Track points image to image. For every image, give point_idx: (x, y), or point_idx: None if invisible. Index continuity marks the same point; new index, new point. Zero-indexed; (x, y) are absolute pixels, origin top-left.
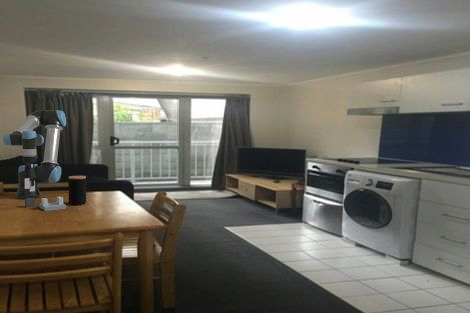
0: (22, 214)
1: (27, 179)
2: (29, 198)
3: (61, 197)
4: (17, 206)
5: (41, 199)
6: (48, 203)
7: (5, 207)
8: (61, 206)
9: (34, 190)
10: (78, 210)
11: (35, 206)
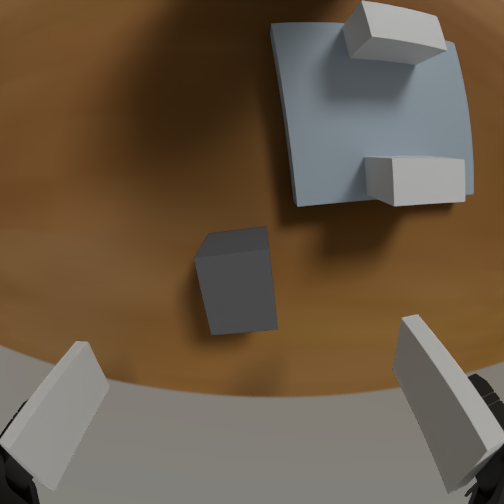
0: (460, 315)
1: (39, 458)
2: (207, 299)
3: (415, 17)
4: (192, 338)
5: (395, 204)
6: (325, 123)
7: (200, 390)
8: (458, 75)
9: (420, 326)
10: (497, 34)
11: (266, 227)
